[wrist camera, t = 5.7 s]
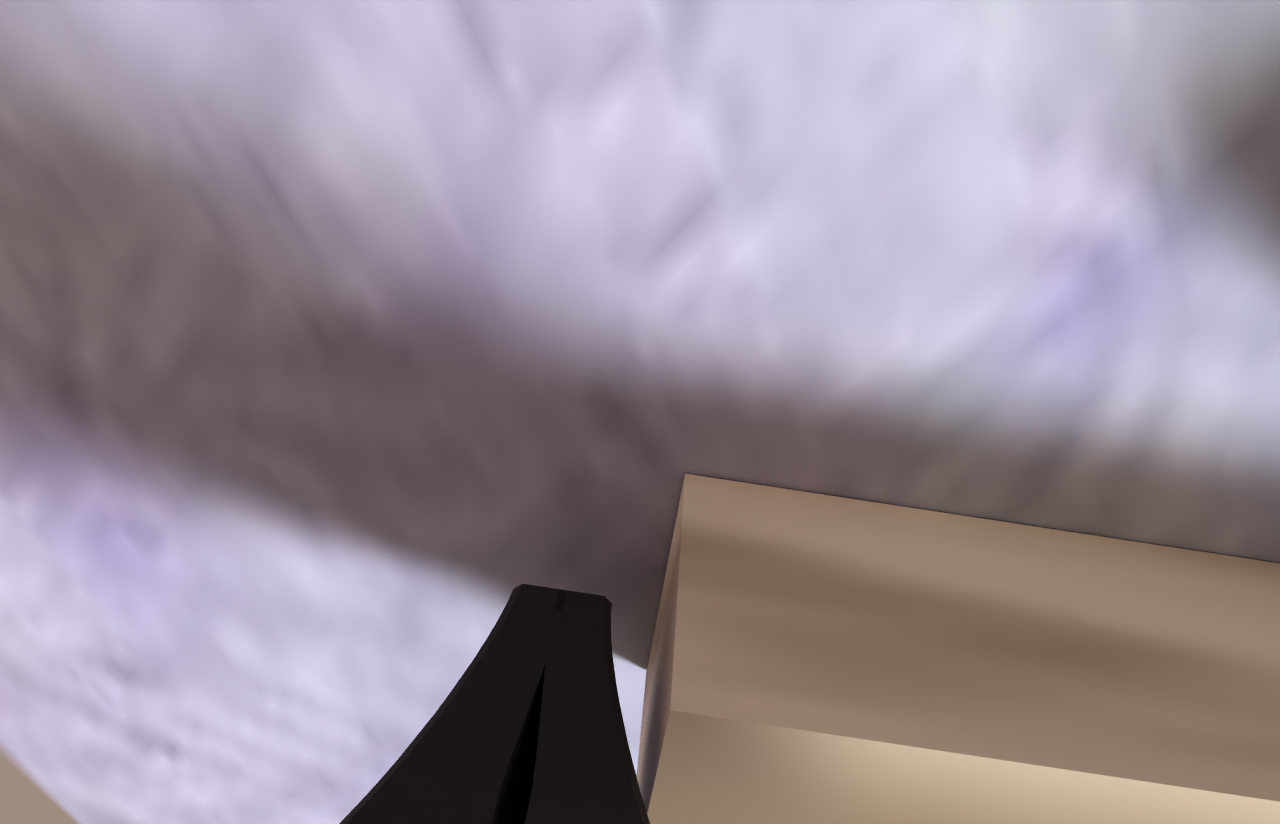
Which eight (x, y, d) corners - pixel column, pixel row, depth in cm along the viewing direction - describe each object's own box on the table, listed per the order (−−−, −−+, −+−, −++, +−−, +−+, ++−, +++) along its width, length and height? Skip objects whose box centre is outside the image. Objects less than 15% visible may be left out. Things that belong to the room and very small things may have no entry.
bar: (1386, 783, 15) (1585, 1074, 11) (646, 672, 15) (622, 930, 11) (1551, 604, 13) (1860, 896, 9) (684, 473, 13) (670, 717, 9)
